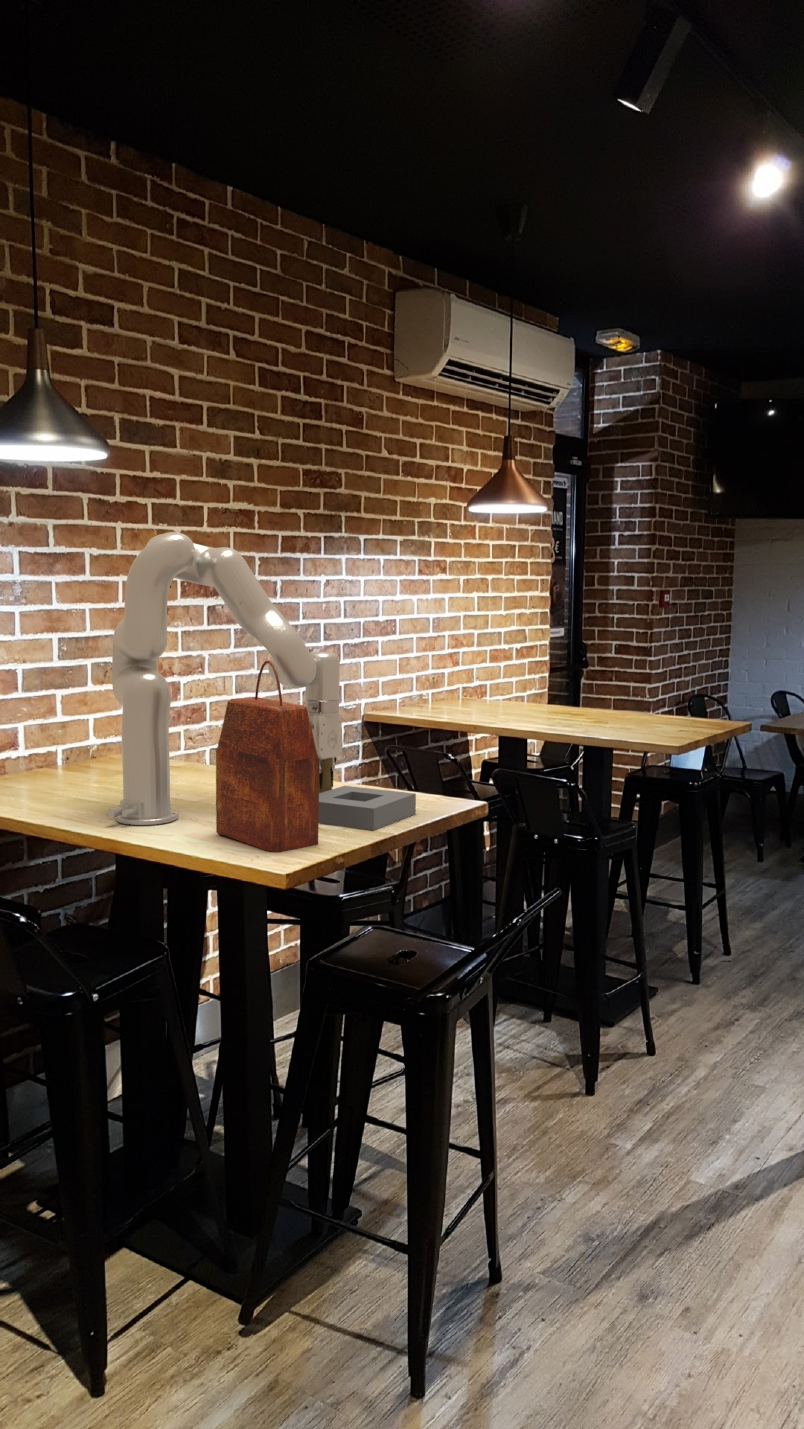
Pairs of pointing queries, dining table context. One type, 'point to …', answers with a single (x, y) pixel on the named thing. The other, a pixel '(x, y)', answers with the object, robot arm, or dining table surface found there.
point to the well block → (364, 807)
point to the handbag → (267, 774)
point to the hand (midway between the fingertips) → (321, 787)
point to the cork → (326, 775)
